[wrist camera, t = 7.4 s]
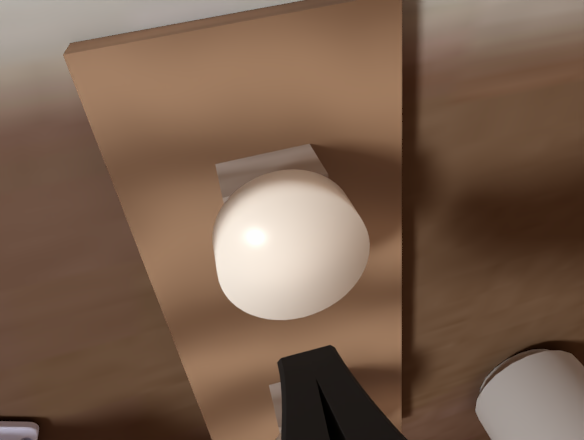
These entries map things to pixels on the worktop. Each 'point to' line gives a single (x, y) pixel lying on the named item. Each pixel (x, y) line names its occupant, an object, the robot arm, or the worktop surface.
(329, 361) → the robot arm
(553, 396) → the can
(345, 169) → the stand
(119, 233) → the worktop surface
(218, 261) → the plunger
